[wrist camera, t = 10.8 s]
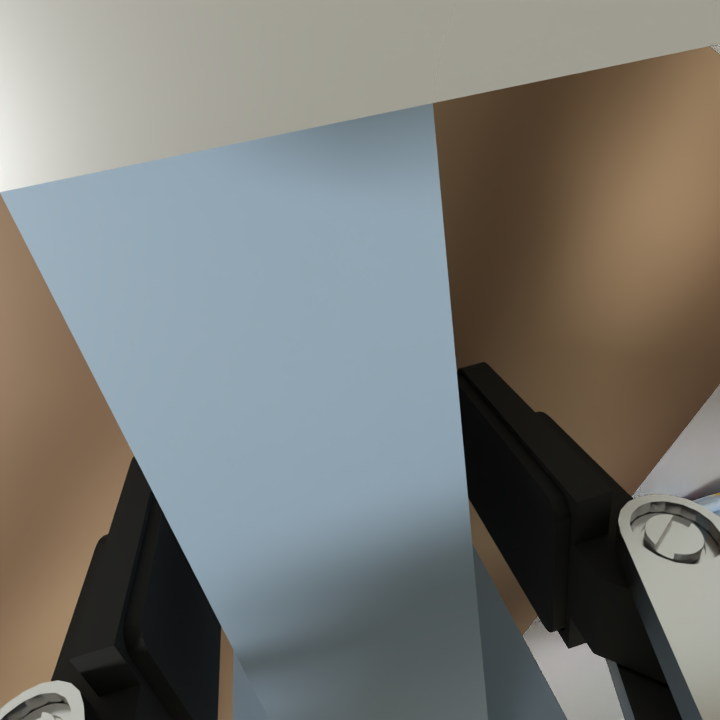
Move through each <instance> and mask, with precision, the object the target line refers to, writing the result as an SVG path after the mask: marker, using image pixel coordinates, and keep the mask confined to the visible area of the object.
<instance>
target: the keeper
mask: <svg viewBox="0 0 720 720" xmlns="http://www.w3.org/2000/svg"><path fill="white" fill-rule="evenodd" d="M717 44H720V0H0V192H3V191H8V190H13V189H18V188H23V187H28V186H32V185H37V184H42V183H47V182H52V181H57V180H62V179H66V178H71V177H76V176H81V175H86V174H91V173H96V172H100V171H105V170H110V169H115V168H120V167H125V166H130V165H134V164H139V163H144V162H149V161H154V160H159V159H164V158H168V157H173V156H178V155H183V154H188V153H193V152H198V151H202V150H207V149H212V148H217V147H222V146H227V145H232V144H236V143H241V142H246V141H251V140H256V139H261V138H266V137H270V136H275V135H280V134H285V133H290V132H295V131H300V130H304V129H309V128H314V127H319V126H324V125H329V124H334V123H338V122H343V121H348V120H353V119H358V118H363V117H368V116H372V115H377V114H382V113H387V112H392V111H397V110H402V109H406V108H411V107H416V106H421V105H426V104H431V103H436V102H440V101H445V100H450V99H455V98H460V97H465V96H470V95H474V94H479V93H484V92H489V91H494V90H499V89H504V88H508V87H513V86H518V85H523V84H528V83H533V82H538V81H542V80H547V79H552V78H557V77H562V76H567V75H572V74H576V73H581V72H586V71H591V70H596V69H601V68H606V67H610V66H615V65H620V64H625V63H630V62H635V61H640V60H644V59H649V58H654V57H659V56H664V55H669V54H673V53H678V52H683V51H688V50H693V49H698V48H703V47H707V46H712V45H717Z"/></svg>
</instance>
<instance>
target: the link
mask: <svg viewBox="0 0 720 720" xmlns="http://www.w3.org/2000/svg"><path fill="white" fill-rule="evenodd" d="M0 194H1V196H2V198H3V200H4V202H5V204H6V206H7V208H8V210H9V211H10V213H11V215H12V217H13V219H14V221H15V223H16V225H17V227H18V229H19V231H20V233H21V235H22V237H23V239H24V241H25V243H26V245H27V247H28V249H29V251H30V253H31V255H32V256H33V258H34V260H35V262H36V264H37V266H38V268H39V270H40V272H41V274H42V276H43V278H44V280H45V282H46V284H47V286H48V288H49V290H50V292H51V294H52V296H53V298H54V300H55V302H56V303H57V305H58V307H59V309H60V311H61V313H62V315H63V317H64V319H65V321H66V323H67V325H68V327H69V329H70V331H71V333H72V335H73V337H74V339H75V341H76V343H77V345H78V347H79V348H80V350H81V352H82V354H83V356H84V358H85V360H86V362H87V364H88V366H89V368H90V370H91V372H92V374H93V376H94V378H95V380H96V382H97V384H98V386H99V388H100V390H101V392H102V394H103V395H104V397H105V399H106V401H107V403H108V405H109V407H110V409H111V411H112V413H113V415H114V417H115V419H116V421H117V423H118V425H119V427H120V429H121V431H122V433H123V435H124V437H125V439H126V441H127V442H128V444H129V446H130V448H131V450H132V452H133V454H134V456H135V458H136V460H137V462H138V464H139V466H140V468H141V470H142V472H143V474H144V476H145V478H146V480H147V482H148V484H149V486H150V487H151V489H152V491H153V493H154V495H155V497H156V499H157V501H158V503H159V505H160V507H161V509H162V511H163V513H164V515H165V517H166V519H167V521H168V523H169V525H170V527H171V529H172V531H173V533H174V534H175V536H176V538H177V540H178V542H179V544H180V546H181V548H182V550H183V552H184V554H185V556H186V558H187V560H188V562H189V564H190V566H191V568H192V570H193V572H194V574H195V576H196V578H197V579H198V581H199V583H200V585H201V587H202V589H203V591H204V593H205V595H206V597H207V599H208V601H209V603H210V605H211V607H212V609H213V611H214V613H215V615H216V617H217V619H218V621H219V623H220V625H221V626H222V628H223V630H224V632H225V634H226V636H227V638H228V640H229V642H230V644H231V646H232V648H233V719H232V720H567V718H566V716H565V714H564V713H563V711H562V709H561V707H560V705H559V703H558V701H557V700H556V698H555V696H554V694H553V692H552V690H551V688H550V687H549V685H548V683H547V681H546V679H545V677H544V675H543V674H542V672H541V670H540V668H539V666H538V664H537V662H536V661H535V659H534V657H533V655H532V653H531V651H530V649H529V648H528V646H527V644H526V642H525V640H524V638H523V636H522V635H521V633H520V631H519V629H518V627H517V625H516V623H515V622H514V620H513V618H512V616H511V614H510V612H509V610H508V609H507V607H506V605H505V603H504V601H503V599H502V597H501V596H500V594H499V592H498V590H497V588H496V586H495V584H494V583H493V581H492V579H491V577H490V575H489V573H488V571H487V570H486V568H485V566H484V564H483V562H482V560H481V558H480V557H479V555H478V553H477V551H476V549H475V547H474V545H473V544H472V536H471V525H470V513H469V502H468V491H467V480H466V469H465V458H464V447H463V435H462V424H461V413H460V402H459V391H458V380H457V369H456V357H455V346H454V335H453V324H452V313H451V302H450V291H449V279H448V268H447V257H446V246H445V235H444V224H443V213H442V201H441V190H440V179H439V168H438V157H437V146H436V134H435V123H434V112H433V103H431V104H426V105H421V106H416V107H411V108H406V109H402V110H397V111H392V112H387V113H382V114H377V115H372V116H368V117H363V118H358V119H353V120H348V121H343V122H338V123H334V124H329V125H324V126H319V127H314V128H309V129H304V130H300V131H295V132H290V133H285V134H280V135H275V136H270V137H266V138H261V139H256V140H251V141H246V142H241V143H236V144H232V145H227V146H222V147H217V148H212V149H207V150H202V151H198V152H193V153H188V154H183V155H178V156H173V157H168V158H164V159H159V160H154V161H149V162H144V163H139V164H134V165H130V166H125V167H120V168H115V169H110V170H105V171H100V172H96V173H91V174H86V175H81V176H76V177H71V178H66V179H62V180H57V181H52V182H47V183H42V184H37V185H32V186H28V187H23V188H18V189H13V190H8V191H3V192H0Z"/></svg>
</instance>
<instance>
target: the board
mask: <svg viewBox="0 0 720 720" xmlns="http://www.w3.org/2000/svg"><path fill="white" fill-rule="evenodd" d="M433 112H434V123H435V134H436V146H437V157H438V168H439V179H440V190H441V201H442V213H443V224H444V235H445V246H446V257H447V268H448V279H449V291H450V302H451V313H452V324H453V335H454V346H455V357H456V369H457V370H458V369H459V368H463V367H466V366H470V365H474V364H477V363H481V362H486V363H487V364H488V365H489V366H490V367H491V368H492V369H493V370H494V371H495V372H496V373H497V374H498V375H499V376H500V377H501V378H502V379H503V380H504V381H505V382H506V383H507V384H508V385H509V386H510V387H511V388H512V389H513V390H514V391H515V392H516V393H517V394H518V395H519V396H520V397H521V398H522V399H523V400H524V401H525V402H526V403H527V404H528V405H529V406H530V407H531V409H532V410H533V411H534V412H538V411H541V412H544V413H546V414H547V415H548V416H550V417H551V418H552V419H553V420H554V421H555V422H556V423H557V424H558V425H559V426H560V427H561V428H562V429H563V430H564V431H565V432H566V433H567V434H568V435H569V436H570V437H571V438H572V439H573V440H574V441H575V442H576V443H577V444H578V445H579V446H580V447H581V448H582V449H583V450H584V451H585V452H586V453H587V454H588V455H589V456H590V457H591V458H592V459H593V460H595V461H596V462H597V463H598V464H599V465H600V466H601V467H602V468H603V469H604V470H605V471H606V472H607V473H608V474H609V475H610V476H611V477H612V478H613V479H614V480H615V481H616V482H617V483H618V484H619V485H620V486H621V487H622V488H623V489H624V490H625V491H626V492H627V493H628V494H629V495H630V496H632V495H633V494H634V492H635V491H636V490H637V489H638V487H639V486H640V485H641V483H642V482H643V481H644V480H645V478H646V477H647V476H648V475H649V473H650V472H651V471H652V469H653V468H654V467H655V466H656V464H657V463H658V462H659V461H660V459H661V458H662V457H663V455H664V454H665V453H666V452H667V450H668V449H669V448H670V447H671V445H672V444H673V443H674V441H675V440H676V439H677V438H678V436H679V435H680V434H681V432H682V431H683V430H684V429H685V427H686V426H687V425H688V424H689V422H690V421H691V420H692V418H693V417H694V416H695V415H696V413H697V412H698V411H699V410H700V408H701V407H702V406H703V404H704V403H705V402H706V401H707V399H708V398H709V397H710V396H711V394H712V393H713V392H714V390H715V389H716V388H717V387H718V385H719V384H720V54H718V53H717V52H716V51H715V50H713V49H712V48H711V47H710V46H707V47H703V48H698V49H693V50H688V51H683V52H678V53H673V54H669V55H664V56H659V57H654V58H649V59H644V60H640V61H635V62H630V63H625V64H620V65H615V66H610V67H606V68H601V69H596V70H591V71H586V72H581V73H576V74H572V75H567V76H562V77H557V78H552V79H547V80H542V81H538V82H533V83H528V84H523V85H518V86H513V87H508V88H504V89H499V90H494V91H489V92H484V93H479V94H474V95H470V96H465V97H460V98H455V99H450V100H445V101H440V102H436V103H433ZM133 457H134V454H133V452H132V450H131V448H130V446H129V444H128V442H127V441H126V439H125V437H124V435H123V433H122V431H121V429H120V427H119V425H118V423H117V421H116V419H115V417H114V415H113V413H112V411H111V409H110V407H109V405H108V403H107V401H106V399H105V397H104V395H103V394H102V392H101V390H100V388H99V386H98V384H97V382H96V380H95V378H94V376H93V374H92V372H91V370H90V368H89V366H88V364H87V362H86V360H85V358H84V356H83V354H82V352H81V350H80V348H79V347H78V345H77V343H76V341H75V339H74V337H73V335H72V333H71V331H70V329H69V327H68V325H67V323H66V321H65V319H64V317H63V315H62V313H61V311H60V309H59V307H58V305H57V303H56V302H55V300H54V298H53V296H52V294H51V292H50V290H49V288H48V286H47V284H46V282H45V280H44V278H43V276H42V274H41V272H40V270H39V268H38V266H37V264H36V262H35V260H34V258H33V256H32V255H31V253H30V251H29V249H28V247H27V245H26V243H25V241H24V239H23V237H22V235H21V233H20V231H19V229H18V227H17V225H16V223H15V221H14V219H13V217H12V215H11V213H10V211H9V210H8V208H7V206H6V204H5V202H4V200H3V198H2V196H1V194H0V709H1V708H2V707H3V706H4V705H5V704H7V703H8V702H10V701H11V700H12V699H14V698H15V697H17V696H18V695H20V694H21V693H22V692H24V691H26V690H28V689H30V688H33V687H35V686H37V685H39V684H41V683H46V682H51V679H52V676H53V673H54V670H55V667H56V664H57V661H58V658H59V655H60V652H61V649H62V646H63V643H64V640H65V637H66V634H67V631H68V628H69V625H70V622H71V619H72V616H73V613H74V610H75V607H76V604H77V601H78V598H79V595H80V592H81V589H82V586H83V583H84V580H85V577H86V574H87V571H88V568H89V565H90V562H91V559H92V556H93V553H94V550H95V547H96V545H97V543H98V541H99V539H100V538H101V537H103V536H104V535H107V534H108V533H109V530H110V526H111V523H112V520H113V517H114V514H115V511H116V507H117V504H118V501H119V498H120V495H121V491H122V488H123V485H124V482H125V479H126V476H127V472H128V469H129V466H130V463H131V460H132V458H133ZM468 502H469V513H470V525H471V536H472V544H473V545H474V547H475V549H476V551H477V553H478V555H479V557H480V558H481V560H482V562H483V564H484V566H485V568H486V570H487V571H488V573H489V575H490V577H491V579H492V581H493V583H494V584H495V586H496V588H497V590H498V592H499V594H500V596H501V597H502V599H503V601H504V603H505V605H506V607H507V609H508V610H509V612H510V614H511V616H512V618H513V620H514V622H515V623H516V625H517V627H518V629H519V631H520V633H521V635H523V634H524V633H525V631H526V630H527V629H528V627H529V626H530V625H531V624H532V622H533V621H534V620H535V619H536V617H537V616H538V615H537V613H536V612H535V610H534V608H533V607H532V605H531V603H530V602H529V600H528V598H527V597H526V595H525V593H524V591H523V590H522V588H521V586H520V585H519V583H518V581H517V580H516V578H515V576H514V575H513V573H512V571H511V569H510V568H509V566H508V564H507V563H506V561H505V559H504V558H503V556H502V554H501V553H500V551H499V549H498V547H497V546H496V544H495V542H494V541H493V539H492V537H491V536H490V534H489V532H488V531H487V529H486V527H485V525H484V524H483V522H482V520H481V519H480V517H479V515H478V514H477V512H476V510H475V509H474V507H473V505H472V503H471V502H470V500H469V498H468ZM232 719H233V648H232V646H231V644H230V642H229V640H228V638H227V636H226V634H225V632H224V630H223V628H222V626H221V647H220V673H219V700H218V720H232Z"/></svg>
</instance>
